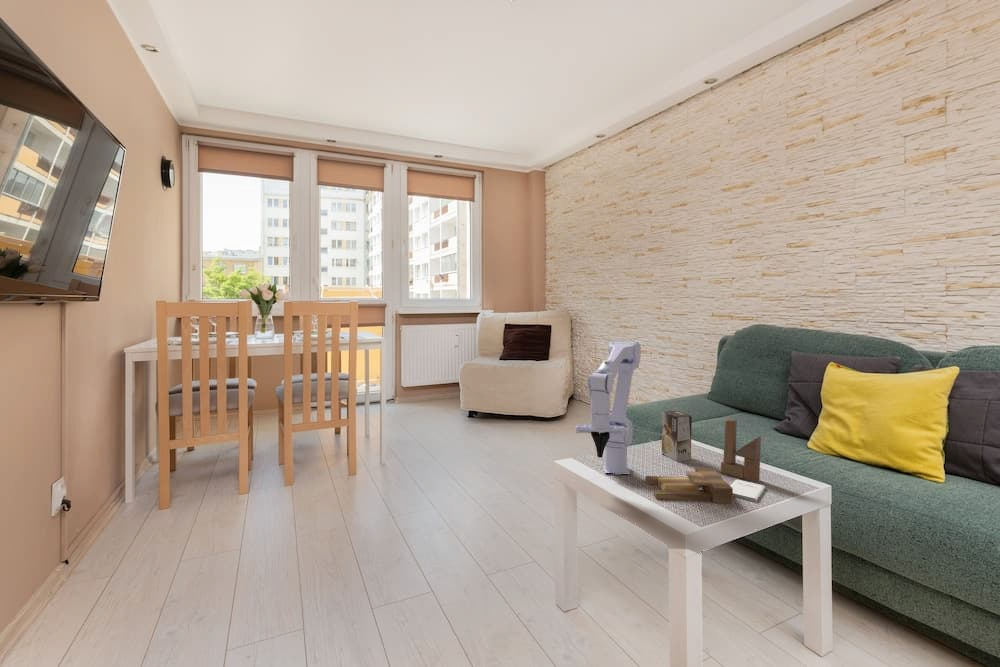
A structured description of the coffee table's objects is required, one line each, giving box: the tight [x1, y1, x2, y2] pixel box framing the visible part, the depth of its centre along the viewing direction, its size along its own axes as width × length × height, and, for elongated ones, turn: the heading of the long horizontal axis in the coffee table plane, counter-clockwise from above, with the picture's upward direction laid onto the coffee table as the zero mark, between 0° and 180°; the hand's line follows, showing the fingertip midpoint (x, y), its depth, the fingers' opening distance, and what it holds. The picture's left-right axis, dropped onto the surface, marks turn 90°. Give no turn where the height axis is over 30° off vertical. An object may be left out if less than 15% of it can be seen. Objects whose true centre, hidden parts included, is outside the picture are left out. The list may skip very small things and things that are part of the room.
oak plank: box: [657, 476, 700, 492], centre depth 138 cm, size 6×10×3 cm, turn 88°
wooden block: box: [720, 418, 762, 483], centre depth 148 cm, size 4×11×18 cm, turn 39°
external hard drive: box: [730, 479, 766, 503], centre depth 136 cm, size 2×8×12 cm
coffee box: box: [661, 410, 693, 462], centre depth 167 cm, size 9×6×16 cm
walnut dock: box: [645, 467, 733, 504], centre depth 137 cm, size 16×20×4 cm
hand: (599, 456), depth 140 cm, fingers closed
